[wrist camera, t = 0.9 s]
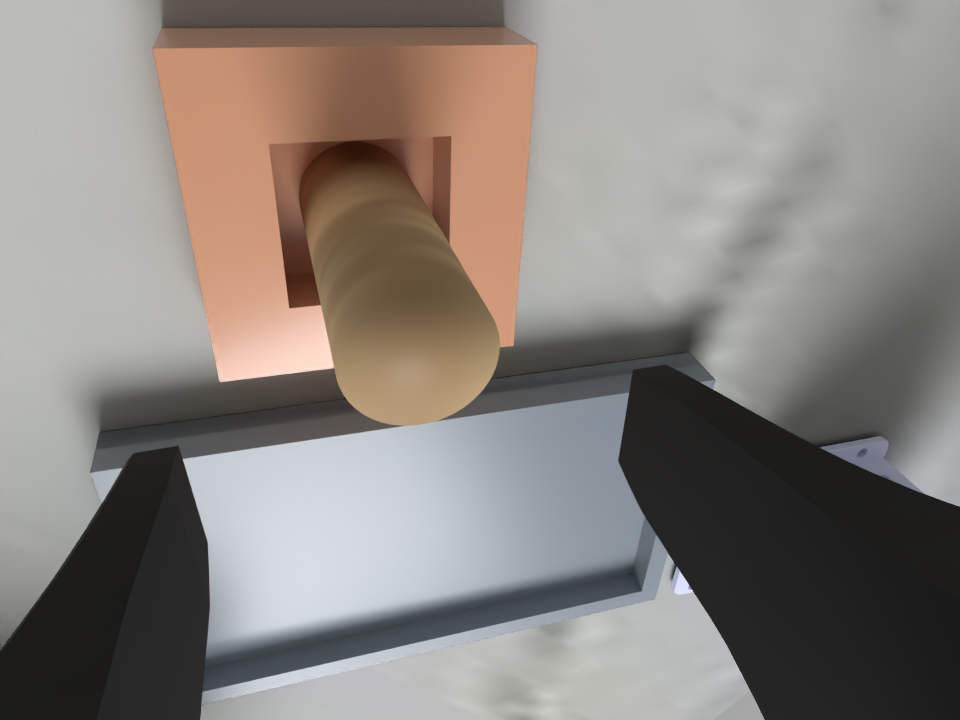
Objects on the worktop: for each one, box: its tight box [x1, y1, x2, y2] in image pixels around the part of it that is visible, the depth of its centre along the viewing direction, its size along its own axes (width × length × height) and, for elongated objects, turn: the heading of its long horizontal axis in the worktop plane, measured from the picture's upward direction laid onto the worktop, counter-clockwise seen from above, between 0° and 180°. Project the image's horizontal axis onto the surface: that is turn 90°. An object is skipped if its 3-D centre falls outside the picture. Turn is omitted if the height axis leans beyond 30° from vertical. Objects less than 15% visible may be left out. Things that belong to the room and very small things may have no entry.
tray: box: [90, 352, 715, 705], centre depth 26 cm, size 20×12×2 cm, turn 87°
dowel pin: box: [299, 142, 500, 426], centre depth 16 cm, size 3×3×8 cm
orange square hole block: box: [153, 27, 537, 382], centre depth 18 cm, size 8×8×2 cm
